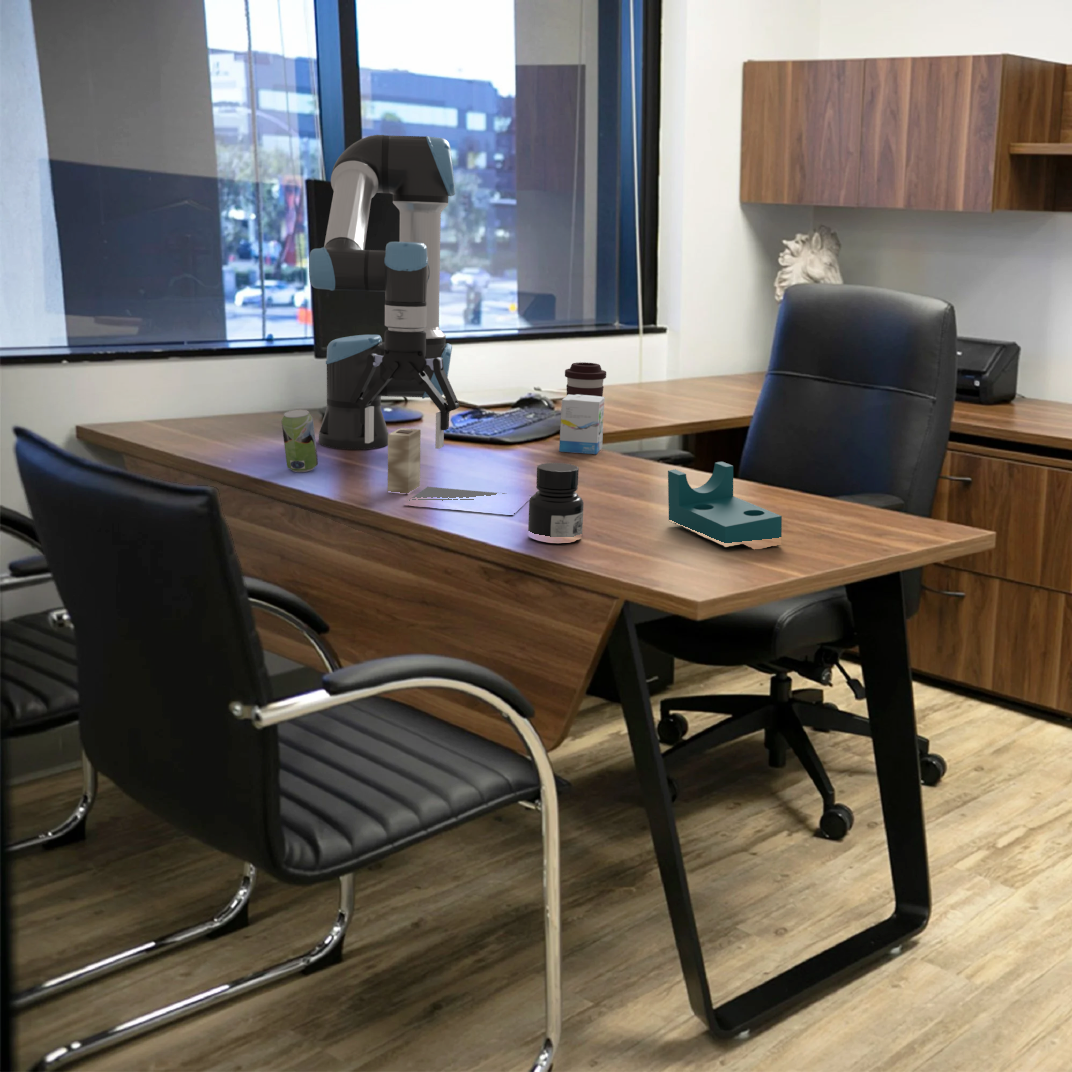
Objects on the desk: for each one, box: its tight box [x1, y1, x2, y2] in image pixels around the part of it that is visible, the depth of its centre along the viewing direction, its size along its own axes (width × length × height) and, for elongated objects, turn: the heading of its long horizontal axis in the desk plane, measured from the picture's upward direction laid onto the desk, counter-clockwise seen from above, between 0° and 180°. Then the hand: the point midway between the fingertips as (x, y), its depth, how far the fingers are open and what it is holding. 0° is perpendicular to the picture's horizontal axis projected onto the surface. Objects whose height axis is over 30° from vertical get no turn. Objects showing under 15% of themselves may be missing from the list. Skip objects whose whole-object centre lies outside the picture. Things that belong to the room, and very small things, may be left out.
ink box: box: [558, 394, 606, 455], centre depth 287 cm, size 8×8×12 cm
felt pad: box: [408, 486, 506, 501], centre depth 237 cm, size 20×14×1 cm
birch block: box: [387, 427, 422, 493], centre depth 243 cm, size 4×7×11 cm, turn 167°
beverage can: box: [281, 408, 319, 473], centre depth 256 cm, size 6×7×12 cm
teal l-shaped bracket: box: [667, 461, 783, 543], centre depth 219 cm, size 18×11×10 cm, turn 25°
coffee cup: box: [564, 361, 607, 397], centre depth 315 cm, size 10×10×15 cm
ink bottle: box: [527, 462, 584, 537], centre depth 214 cm, size 10×9×12 cm
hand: (404, 444), depth 242 cm, fingers open, 13 cm apart
